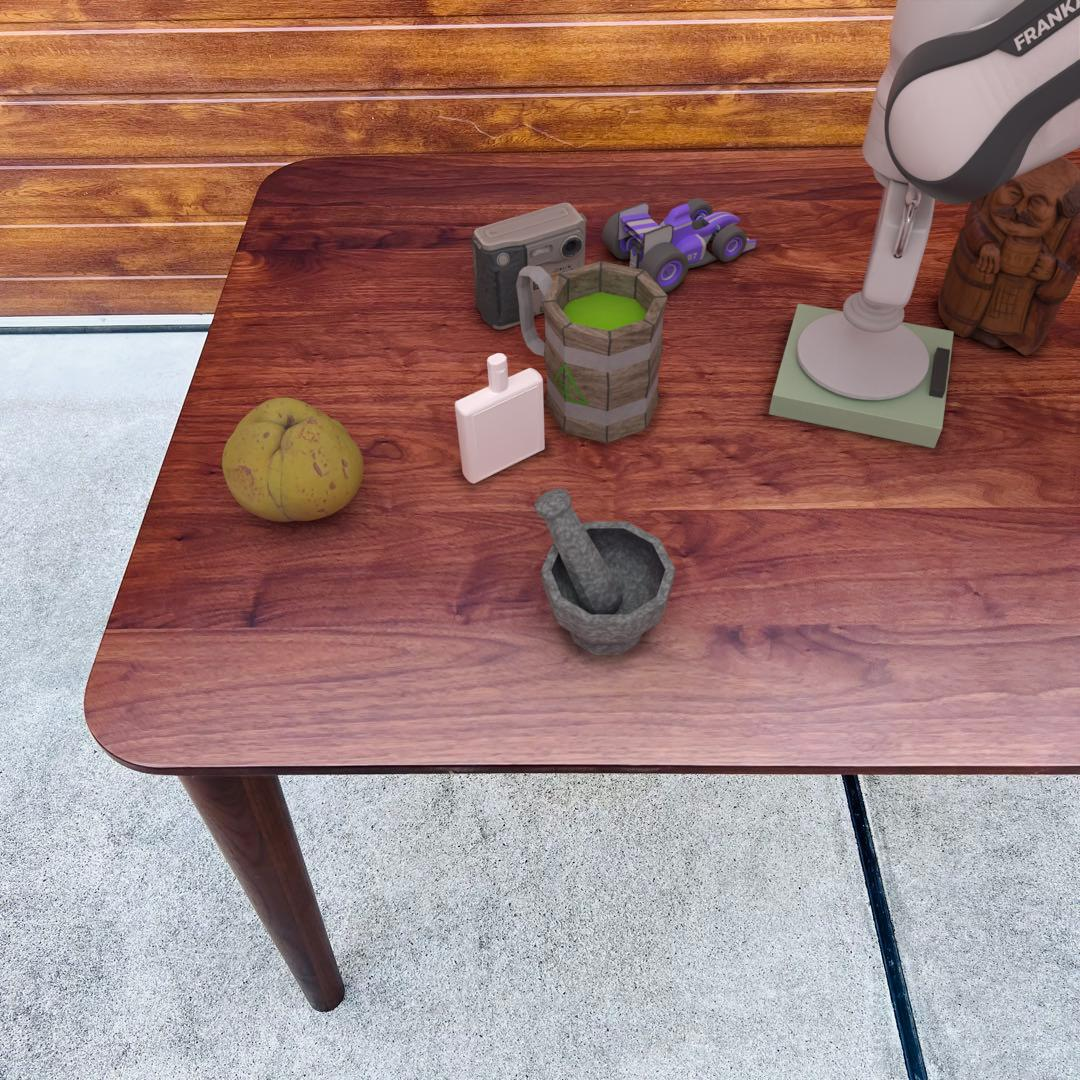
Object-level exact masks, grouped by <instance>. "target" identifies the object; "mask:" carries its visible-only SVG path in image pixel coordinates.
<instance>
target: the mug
mask: <svg viewBox="0 0 1080 1080" xmlns="http://www.w3.org/2000/svg"><path fill="white" fill-rule="evenodd" d="M530 278H531V279H532V280H533V281H534V282H535V283H536V284H537V285H538V287H539V288H540V290H541V292H542V293H543V295H544V296H545V297H544V299H543V300H542V305H543V311H544V313H543V316H544V328H545V329H544V331H545V332H544V333H545V337H544V340H542V339H541V337H539V335H538V332H537V329H536V326H535V318H534V317H535V316H534V314H533V299H532V293H531V287H530ZM516 287H517V294H518V301H519V313H520V330H521V335H522V337H523V340H524V343H525V345H526V347H527V348H528V349H529V350H530V351H531V352H532V353H533V354H535V355H536V356H539V357H542V358H543V361H544V366H545V367H544V368H545V372H546V395H545V403H544V406H545V407H546V409H547V410H548V412H549V413H550V414H551V416H552V417H553V419H554V420H555V421H554V422H556V423H557V425H558V426H559V428H560V429H561V431H562V432H563V433H564V434H566V435H571V436H576V437H580V438H583V439H587V440H593V441H597V442H600V443H604V444H608V443H610V442H613V441H616V440H619V439H623V438H625V437H628V436H630V435H634V434H637V433H639V432H642V431H645V430H647V428H648V426H649V424H650V422H651V419H652V417H653V415H654V413H655V410H656V408H657V406H658V403H659V401H660V398H659V397H660V396H659V375H660V367H661V361H662V358H663V357H662V356H663V351H664V350H663V347H664V345H663V327H664V326H663V325H664V315H665V311H666V306H667V302H668V298H669V296H668V294H667V293H666V294H665V292H664V291H663V290H662V289H661V288H660V287H659V286H658V284H657V283H656V282H655V281H654V280H653V279H652V278H651V276H650V275H649V274H648V273H647V272H646V271H645V270H642V269H637V268H632V267H630V266H627V265H620V264H615V263H611V262H607V261H601V260H600V261H597V262H592V263H589V264H585V266H583V267H579V268H576V269H572V270H569V271H566V272H562V273H559V274H558V275H557V277H556V278H555V280H554V281H553V280H552V278H551V276H550V275H549V274H548V273H547V272H546V271H545V270H544V269H543V268H542V267H540V266H526V267H524V268H523V269H522V270H521V271H520V272H519V276H518V279H517V283H516Z"/></svg>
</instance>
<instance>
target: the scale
mask: <svg viewBox="0 0 1080 1080" xmlns="http://www.w3.org/2000/svg"><path fill="white" fill-rule="evenodd" d="M795 308H796V309H795V313H794V316H793V319H792V323H791V327H790V331H789V334H788V337H787V342H786V345H785V348H784V352H783V355H782V359H781V362H780V367H779V369H778V373H777V378H776V380H775V383H774V384H775V385H774V388H773V392H772V395H771V400H770V405H769V408H768V415H770V416H775V417H779V418H785V419H790V420H795V421H799V422H805V423H810V424H813V425H819V426H824V427H828V428H834V429H839V430H843V431H848V432H853V433H858V434H863V435H866V436H873V437H877V438H881V439H882V438H883V439H886V440H892V441H897V442H901V443H907V444H911V445H917V446H919V447H926V448H931V449H935V448H936V446H937V443H938V440H939V438H940V435H941V433H942V430H943V426H944V418H945V411H946V410H945V409H946V400H947V392H948V383H949V378H950V377H949V375H950V368H951V361H952V360H951V359H952V351H953V342H954V334H955V333H954V331H951V330H950V329H948V330H947V329H942V328H938V327H931V326H926V325H920V324H914V323H908V322H904V321H902V322H901V324H900V325H899V326H898V327H897V328H895V329H893V330H891V331H887V332H882V333H873V332H867V331H863V330H860V329H858V328H856V327H854V326H853V325H852V324H850V323H849V322H848V321H847V320H846V318H845V316H844V314H843V310H837V309H832V308H826V307H820V306H814V305H811V304H804V303H797V305H796V307H795Z"/></svg>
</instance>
